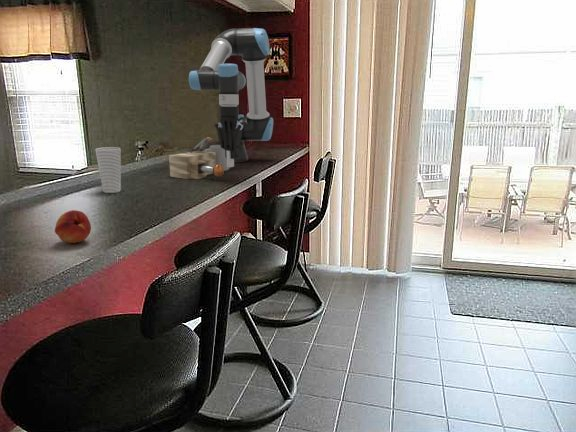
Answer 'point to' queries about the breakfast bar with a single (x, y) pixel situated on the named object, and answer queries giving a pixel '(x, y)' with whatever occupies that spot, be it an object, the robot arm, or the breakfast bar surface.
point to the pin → (212, 169)
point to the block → (191, 164)
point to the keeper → (201, 144)
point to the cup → (109, 168)
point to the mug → (219, 155)
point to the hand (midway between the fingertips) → (230, 166)
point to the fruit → (73, 227)
